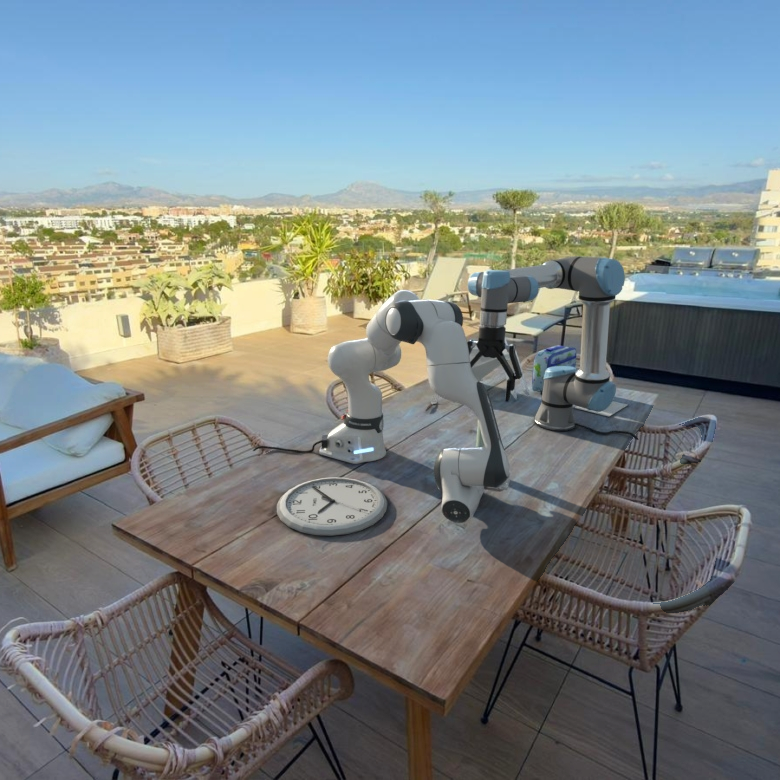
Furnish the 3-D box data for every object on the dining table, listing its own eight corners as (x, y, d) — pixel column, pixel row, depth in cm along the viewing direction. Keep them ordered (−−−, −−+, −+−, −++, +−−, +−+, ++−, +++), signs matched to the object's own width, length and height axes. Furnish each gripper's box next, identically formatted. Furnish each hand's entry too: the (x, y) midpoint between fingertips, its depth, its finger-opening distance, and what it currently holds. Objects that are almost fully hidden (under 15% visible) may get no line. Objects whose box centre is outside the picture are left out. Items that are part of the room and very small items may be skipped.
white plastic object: (461, 429, 252) (437, 405, 227) (444, 352, 274) (420, 323, 250) (535, 404, 240) (518, 377, 215) (510, 326, 262) (492, 293, 237)
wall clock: (392, 527, 129) (268, 531, 127) (391, 533, 130) (269, 537, 127) (383, 473, 158) (282, 475, 155) (383, 478, 158) (282, 480, 156)
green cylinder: (479, 476, 161) (483, 418, 155) (471, 470, 165) (475, 414, 159) (491, 474, 163) (496, 417, 157) (483, 468, 167) (487, 412, 161)
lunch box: (548, 398, 236) (553, 353, 229) (527, 393, 243) (531, 349, 237) (575, 387, 253) (581, 344, 247) (555, 382, 260) (560, 341, 254)
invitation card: (608, 416, 214) (573, 407, 224) (608, 416, 214) (573, 408, 224) (628, 404, 229) (594, 396, 238) (628, 405, 229) (594, 397, 238)
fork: (422, 411, 216) (422, 407, 215) (433, 400, 230) (433, 396, 230) (428, 412, 215) (429, 407, 215) (438, 401, 230) (439, 396, 229)
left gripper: (508, 480, 138) (514, 459, 150) (433, 467, 144) (445, 448, 157) (506, 501, 140) (512, 479, 152) (432, 488, 146) (444, 467, 159)
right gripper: (537, 327, 148) (530, 400, 155) (457, 319, 158) (453, 388, 165) (532, 331, 142) (524, 407, 148) (448, 323, 152) (444, 394, 158)
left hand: (477, 463), depth 155 cm, fingers open, 8 cm apart
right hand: (487, 397), depth 156 cm, fingers open, 12 cm apart
